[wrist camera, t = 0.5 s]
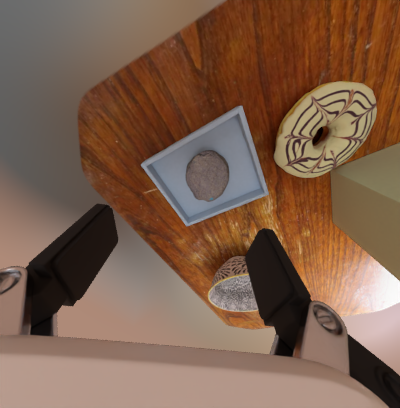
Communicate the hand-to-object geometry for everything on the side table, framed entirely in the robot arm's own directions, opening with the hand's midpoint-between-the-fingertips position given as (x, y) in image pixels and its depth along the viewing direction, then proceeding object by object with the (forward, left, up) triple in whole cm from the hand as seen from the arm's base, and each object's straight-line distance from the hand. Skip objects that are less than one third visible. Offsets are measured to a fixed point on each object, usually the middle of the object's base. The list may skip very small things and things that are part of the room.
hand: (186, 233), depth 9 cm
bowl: (+3, +28, -16) cm, 32 cm away
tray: (-1, +3, -16) cm, 16 cm away
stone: (-1, +3, -15) cm, 16 cm away
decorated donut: (-16, +4, -16) cm, 23 cm away
